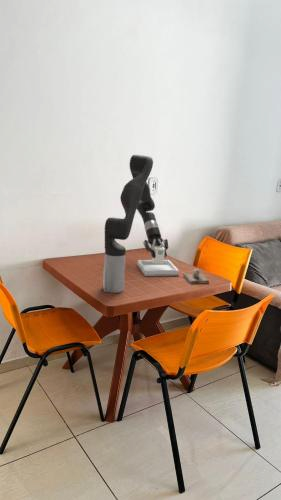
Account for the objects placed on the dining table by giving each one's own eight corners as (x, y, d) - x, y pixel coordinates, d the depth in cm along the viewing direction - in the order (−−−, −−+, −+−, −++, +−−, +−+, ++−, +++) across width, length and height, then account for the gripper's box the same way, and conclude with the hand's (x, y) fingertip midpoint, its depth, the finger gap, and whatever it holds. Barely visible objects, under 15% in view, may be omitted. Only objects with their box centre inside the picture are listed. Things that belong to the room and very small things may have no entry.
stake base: (189, 283, 189) (190, 273, 188) (183, 276, 198) (184, 266, 197) (208, 283, 191) (209, 272, 190) (201, 276, 201) (202, 266, 199)
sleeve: (155, 264, 201) (156, 249, 199) (152, 260, 207) (153, 246, 205) (164, 264, 202) (165, 249, 200) (161, 260, 208) (162, 246, 206)
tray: (145, 276, 196) (145, 270, 195) (137, 265, 212) (137, 260, 212) (178, 275, 200) (178, 270, 199) (168, 265, 217) (168, 259, 216)
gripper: (142, 226, 204) (150, 254, 197) (166, 226, 210) (174, 253, 202) (138, 234, 210) (145, 261, 203) (161, 233, 216) (169, 259, 208)
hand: (159, 257), depth 203 cm, fingers closed on sleeve, 5 cm apart
